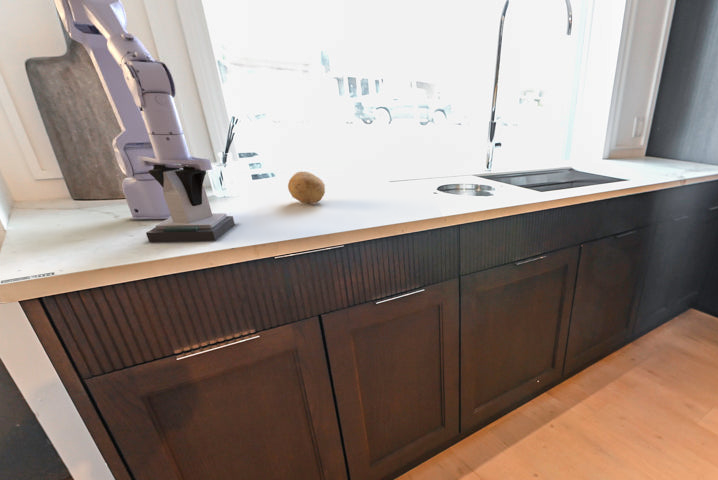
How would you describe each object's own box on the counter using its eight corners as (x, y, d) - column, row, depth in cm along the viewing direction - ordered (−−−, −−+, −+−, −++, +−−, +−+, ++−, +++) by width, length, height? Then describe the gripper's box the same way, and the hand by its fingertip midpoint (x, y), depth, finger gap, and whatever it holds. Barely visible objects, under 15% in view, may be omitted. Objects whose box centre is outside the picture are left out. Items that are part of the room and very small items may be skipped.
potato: (293, 209, 113) (287, 178, 110) (289, 199, 124) (283, 170, 120) (331, 207, 118) (327, 176, 114) (324, 197, 128) (320, 169, 125)
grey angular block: (212, 215, 94) (198, 168, 90) (188, 223, 89) (172, 172, 84) (197, 214, 95) (183, 167, 90) (172, 222, 89) (155, 171, 84)
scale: (149, 242, 86) (144, 228, 84) (176, 225, 97) (172, 213, 95) (215, 240, 88) (211, 227, 87) (235, 224, 99) (231, 212, 98)
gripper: (214, 134, 86) (232, 202, 93) (151, 130, 88) (173, 198, 94) (186, 136, 80) (208, 209, 87) (119, 132, 82) (145, 204, 88)
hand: (188, 204), depth 90 cm, fingers closed on grey angular block, 4 cm apart
